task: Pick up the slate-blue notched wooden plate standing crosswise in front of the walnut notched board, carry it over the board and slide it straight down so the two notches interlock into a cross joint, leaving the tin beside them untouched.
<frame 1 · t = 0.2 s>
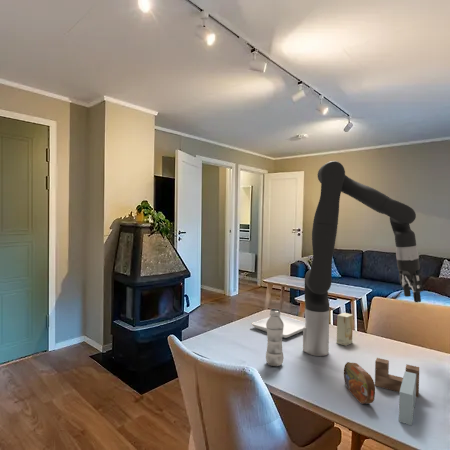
hand: (412, 299, 128), 22 cm above the table, tool pointing down, fingers open, 8 cm apart
tin: (358, 396, 100), on the table
plastic bottle: (274, 365, 120), on the table
salad plate: (281, 330, 158), on the table
cross plate: (407, 410, 93), on the table
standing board: (396, 389, 104), on the table
skincare box: (344, 343, 142), on the table
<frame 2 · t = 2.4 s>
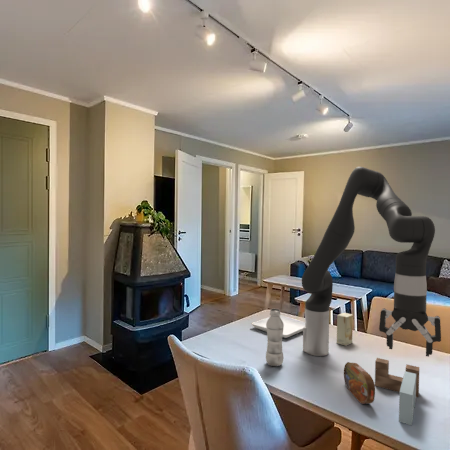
hand: (408, 351, 88), 18 cm above the table, tool pointing down, fingers open, 8 cm apart
nothing on the table moved.
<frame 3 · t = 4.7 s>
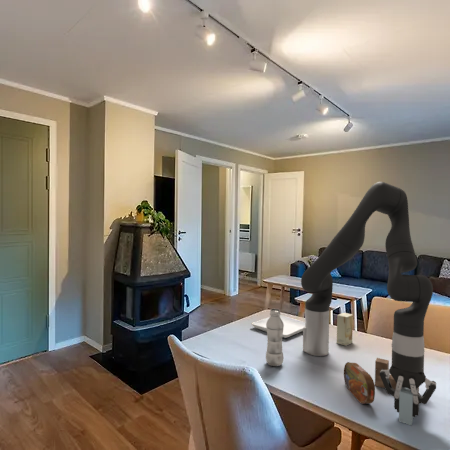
hand: (406, 413, 89), 2 cm above the table, tool pointing down, fingers closed on cross plate, 3 cm apart
cross plate: (407, 410, 93), on the table, touching gripper
everything else where it was.
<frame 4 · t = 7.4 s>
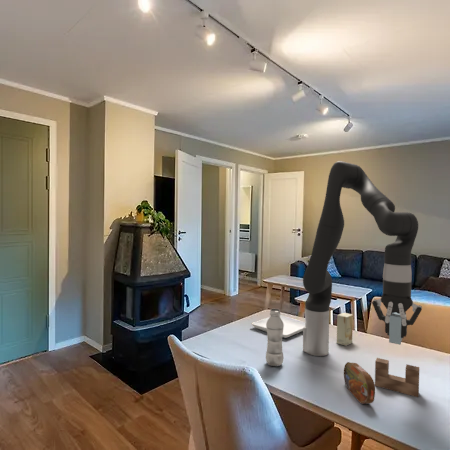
hand: (395, 335, 99), 18 cm above the table, tool pointing down, fingers closed on cross plate, 3 cm apart
cross plate: (397, 336, 103), point 17 cm above the table, touching gripper
everything else where it was.
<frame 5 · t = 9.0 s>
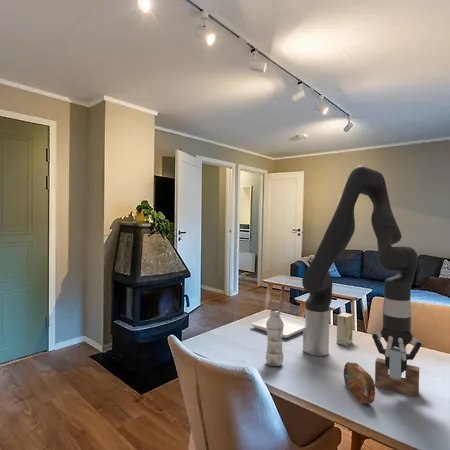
hand: (395, 369, 100), 8 cm above the table, tool pointing down, fingers closed on cross plate, 3 cm apart
cross plate: (397, 368, 104), point 6 cm above the table, touching gripper
everything else where it was.
when the fingers open (3 cm above the table, at t = 10.4 s): cross plate stays where it is, on the table.
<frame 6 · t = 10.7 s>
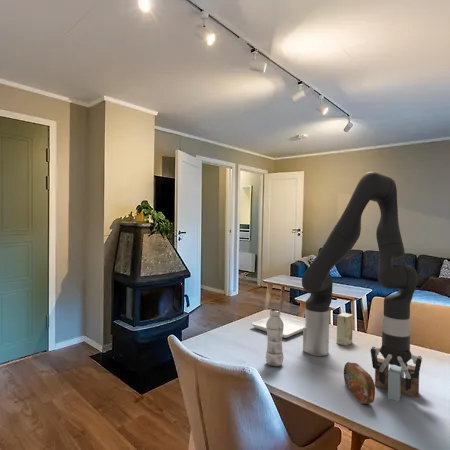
hand: (394, 386, 100), 3 cm above the table, tool pointing down, fingers open, 6 cm apart
cross plate: (396, 389, 104), on the table
everything else where it was.
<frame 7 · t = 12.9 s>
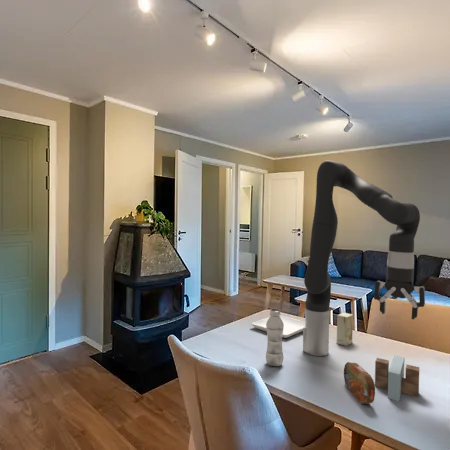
hand: (397, 316, 106), 22 cm above the table, tool pointing down, fingers open, 8 cm apart
nothing on the table moved.
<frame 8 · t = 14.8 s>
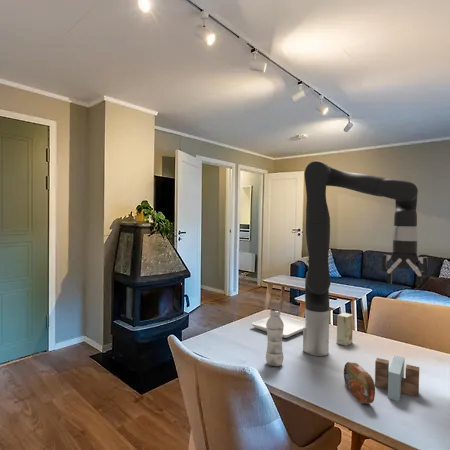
hand: (403, 285, 116), 30 cm above the table, tool pointing down, fingers open, 8 cm apart
nothing on the table moved.
at the end: cross plate 0.1 cm off-centre on the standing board, point 0.0 cm above the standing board's base; cross plate tilted 0°; the gripper is holding nothing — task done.
